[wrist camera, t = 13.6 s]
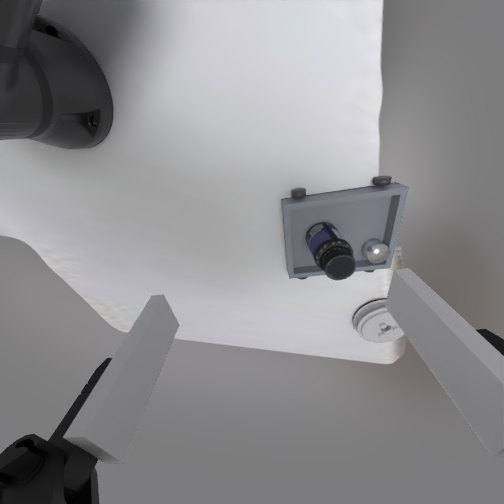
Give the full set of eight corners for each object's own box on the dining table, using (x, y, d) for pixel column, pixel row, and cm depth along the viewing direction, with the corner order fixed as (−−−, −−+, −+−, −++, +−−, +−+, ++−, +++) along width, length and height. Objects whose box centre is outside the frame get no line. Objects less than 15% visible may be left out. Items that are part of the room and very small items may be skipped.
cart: (287, 274, 47) (289, 284, 44) (280, 191, 37) (282, 196, 34) (379, 264, 45) (388, 273, 42) (397, 173, 35) (410, 177, 32)
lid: (411, 315, 53) (425, 332, 49) (366, 336, 58) (375, 353, 53) (390, 288, 48) (402, 303, 44) (342, 313, 53) (349, 329, 49)
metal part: (360, 256, 42) (366, 264, 40) (362, 239, 40) (369, 246, 38) (380, 254, 42) (388, 262, 39) (383, 236, 40) (392, 244, 37)
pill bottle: (305, 250, 42) (319, 285, 33) (305, 223, 39) (320, 253, 29) (336, 247, 41) (359, 282, 32) (338, 219, 38) (364, 248, 29)
